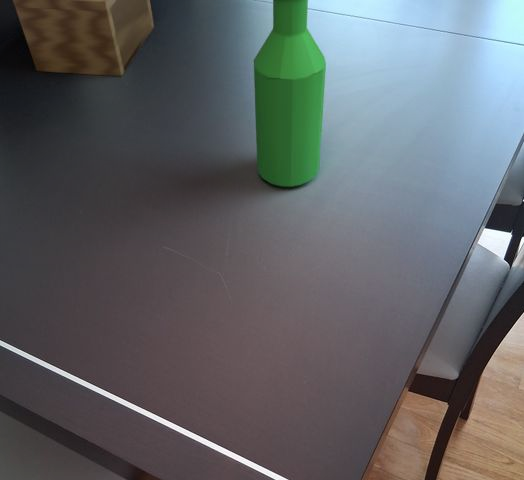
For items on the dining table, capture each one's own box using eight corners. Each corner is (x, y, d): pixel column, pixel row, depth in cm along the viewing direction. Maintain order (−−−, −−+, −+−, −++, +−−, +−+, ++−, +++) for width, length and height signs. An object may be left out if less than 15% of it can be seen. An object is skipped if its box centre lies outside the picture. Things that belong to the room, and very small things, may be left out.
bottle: (253, 189, 79) (244, -12, 59) (261, 153, 84) (255, -42, 64) (317, 192, 78) (329, -10, 58) (320, 156, 83) (333, -41, 64)
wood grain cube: (36, 71, 102) (11, -3, 92) (77, 22, 114) (59, -47, 104) (121, 76, 100) (105, 1, 90) (154, 26, 112) (142, -44, 102)
